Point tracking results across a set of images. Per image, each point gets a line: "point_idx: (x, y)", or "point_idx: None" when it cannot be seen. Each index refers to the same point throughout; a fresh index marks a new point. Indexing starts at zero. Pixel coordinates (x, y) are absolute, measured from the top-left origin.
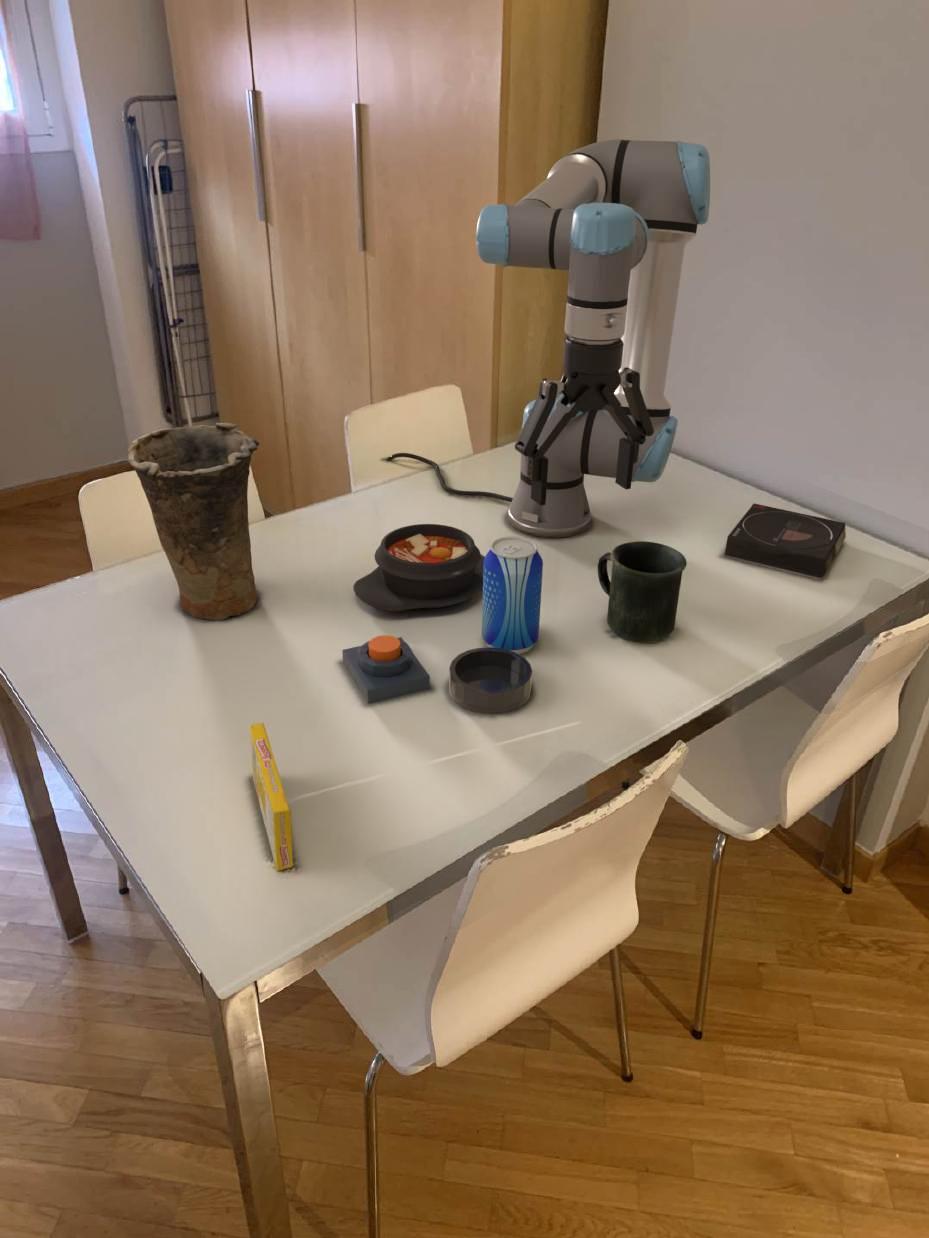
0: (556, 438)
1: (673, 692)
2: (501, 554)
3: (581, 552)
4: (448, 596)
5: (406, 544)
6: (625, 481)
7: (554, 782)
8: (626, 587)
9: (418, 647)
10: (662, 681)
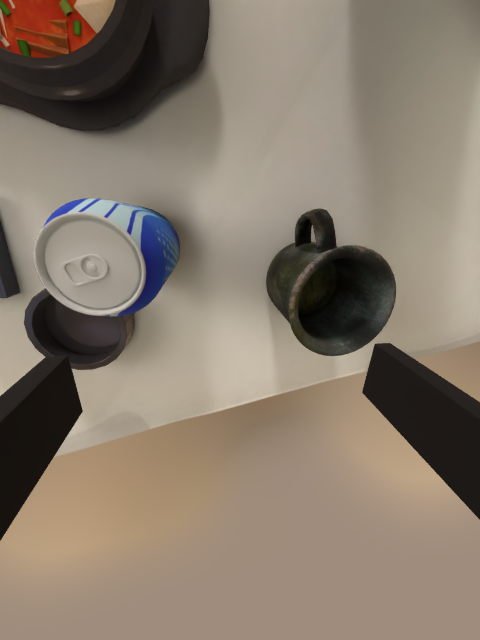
0: None
1: (253, 378)
2: (50, 290)
3: (377, 38)
4: (80, 102)
5: None
6: (377, 402)
7: (103, 435)
8: (285, 312)
9: (20, 199)
10: (255, 363)
